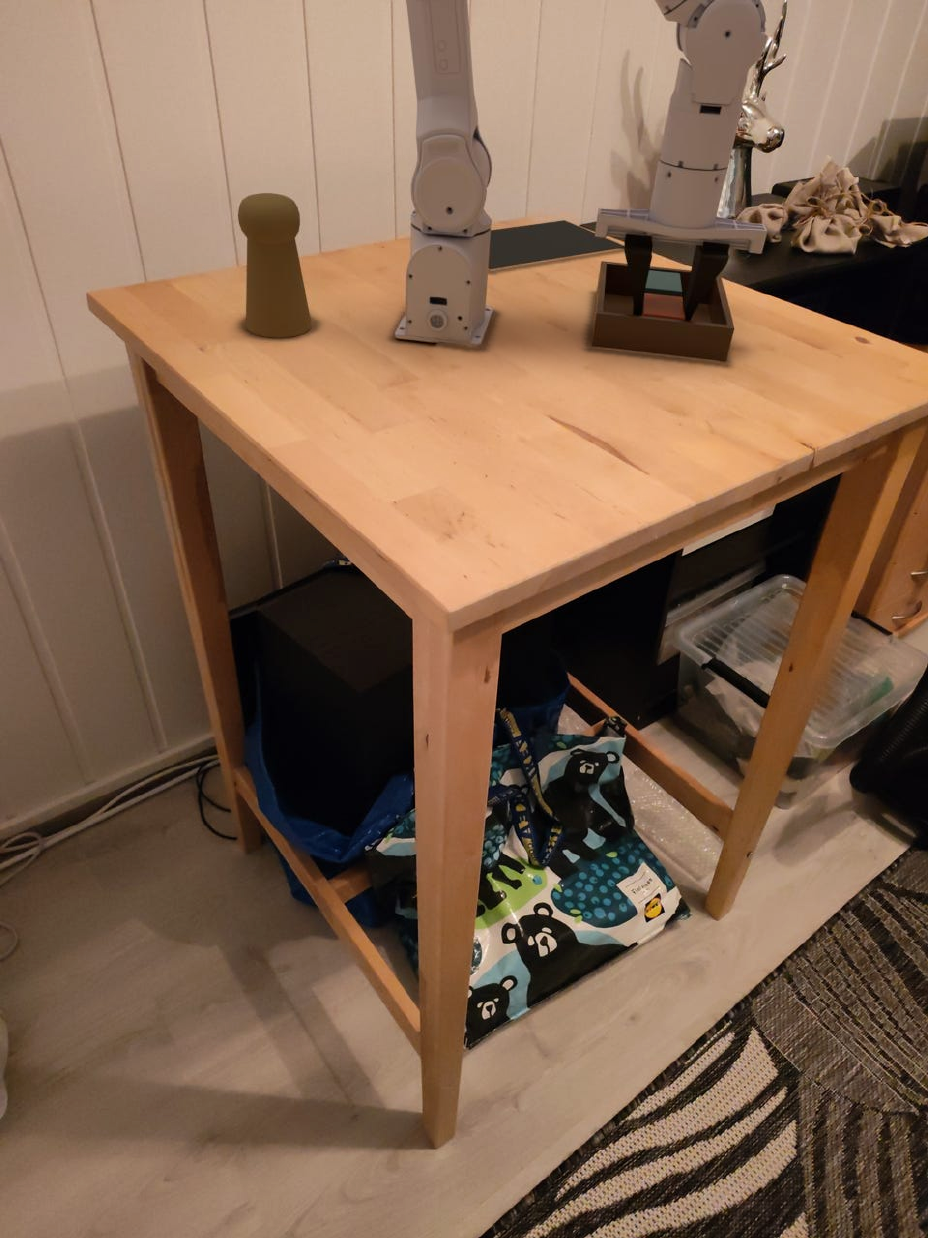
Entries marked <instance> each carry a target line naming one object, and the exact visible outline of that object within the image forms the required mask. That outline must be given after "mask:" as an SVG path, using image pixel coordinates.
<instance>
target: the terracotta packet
mask: <svg viewBox="0 0 928 1238" xmlns="http://www.w3.org/2000/svg"><path fill="white" fill-rule="evenodd" d="M641 316H646V317H656V318H665V319H674V320H683V321H685V312H684V305H683V298H682V297H678V296H668V295H659V294H650V293H644V302H643V310H642V315H641Z"/></svg>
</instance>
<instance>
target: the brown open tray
mask: <svg viewBox="0 0 928 1238" xmlns="http://www.w3.org/2000/svg"><path fill="white" fill-rule="evenodd" d="M649 270H652V271H661V272H671V273H679V274H680V279H681V287H682V295H681V297H682V298H683V302H684V298H685V295H686V291H687V288H688V284H689V280H690V274H691V270H690V269H681V268H670V267H661V266H652V265H650V269H649ZM633 306H634V303H633V291H632V284H631V278H630V273H629V269H628V265H627V263H623V262H613V261H603V260H601V262H600V267H599V274H598V280H597V287H596V293H595V305H594V317H593V324H592V325H593V326H592V334H591V335H592V336H591V345H590V346H591V347H593V348H602V349H610V350H611V349H612V350H620V351H628V352H629V351H630V352H638V353H647V354H657V355H666V356H674V357H683V358H689V359H690V358H692V359H699V360H711V361H719V362H726V361H727V359H728V354H729V350H730V347H731V344H732V339H733V335H734V333H735V325H734V321H733V318H732V313H731V309H730V305H729V302H728V298H727V293H726V289H725V285H724V281H723V278H722V274H721V273H720V274H719V275H718V276H717V278H716V279H715V280H714V282H713V283H712V284H711V286H710V287H709V288H708V290H707V291H706V293H705V294H704V296H703V298H702V299H701V301H700V303H699V305H698V306H697V308H696V310H695V312H694V314H693V316H692V319H691V321H683V320H674V319H665V318H656V317H646V316H637V315H633Z"/></svg>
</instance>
